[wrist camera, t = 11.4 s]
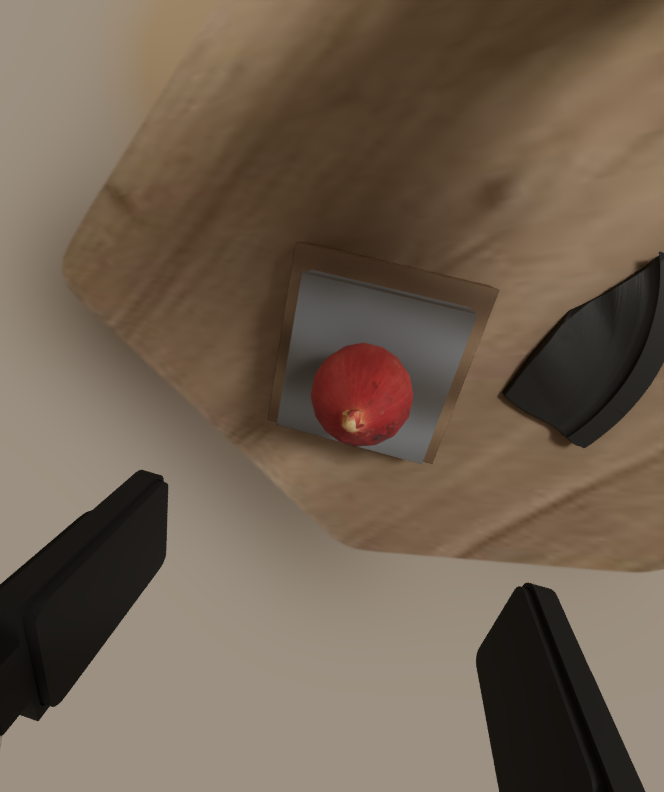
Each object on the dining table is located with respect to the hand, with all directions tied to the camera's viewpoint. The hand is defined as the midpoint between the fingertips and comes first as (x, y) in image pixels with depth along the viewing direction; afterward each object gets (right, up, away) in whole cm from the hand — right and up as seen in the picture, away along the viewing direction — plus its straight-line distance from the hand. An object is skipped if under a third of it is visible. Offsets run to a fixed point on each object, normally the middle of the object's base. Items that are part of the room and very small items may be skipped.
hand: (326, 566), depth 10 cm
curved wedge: (+20, +7, +19) cm, 28 cm away
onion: (+3, +6, +15) cm, 16 cm away
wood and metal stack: (+3, +8, +20) cm, 22 cm away
